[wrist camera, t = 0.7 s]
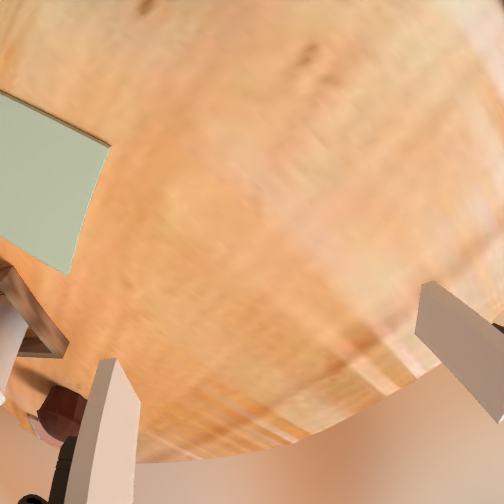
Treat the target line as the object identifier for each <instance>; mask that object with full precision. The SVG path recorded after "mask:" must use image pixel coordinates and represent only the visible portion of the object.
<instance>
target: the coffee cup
mask: <svg viewBox="0 0 504 504" xmlns="http://www.w3.org/2000/svg"><path fill="white" fill-rule="evenodd" d="M28 326H29V325H28V324H27V323H26V322H25V320H24V319H23V318H22V316H21V315H20V314H19V313H18V311H17V310H16V309H15V307H14V306H13V305H12V303H11V302H10V301H9V299H8V298H7V296H6V295H0V405H2V404H3V403H4V401H5V400H6V399H5V397H4V392H5V389H6V385H7V382H8V379H9V376H10V373H11V370H12V367H13V364H14V362H15V359H16V356H17V353H18V351H19V348H20V346H21V343H22V340H23V338H24V336H25V333H26V331H27V328H28Z"/></svg>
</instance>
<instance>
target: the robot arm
mask: <svg viewBox="0 0 504 504" xmlns="http://www.w3.org/2000/svg"><path fill="white" fill-rule="evenodd" d="M415 335H416V336H417V337H418V338H419V339H420V340H421V341H422V342H423V343H424V344H425V345H426V346H427V347H428V348H429V349H430V350H431V351H432V352H433V353H434V354H435V355H436V356H437V357H438V358H439V360H440V361H441V362H442V363H443V364H444V365H445V366H446V367H447V368H448V369H449V370H450V371H451V372H452V373H453V374H454V376H455V377H456V378H457V379H458V380H459V381H460V382H461V383H462V384H463V385H464V386H465V388H466V389H467V390H468V391H469V392H470V393H471V394H472V395H473V396H474V397H475V399H476V400H477V401H478V402H479V403H480V404H481V405H482V407H483V408H484V409H485V410H486V411H487V412H488V413H489V415H490V416H491V417H492V418H493V419H494V420H495V422H496V423H497V424H498V423H499V422H501V421H502V420H503V419H504V327H502V326H500V325H497V324H495V323H493V324H490V323H489V322H488V321H487V320H485V319H484V318H483V317H482V316H480V315H479V314H478V313H477V312H475V311H474V310H473V309H471V308H470V307H469V306H467V305H466V304H465V303H464V302H462V301H461V300H460V299H458V298H457V297H456V296H454V295H453V294H452V293H450V292H449V291H447V290H446V289H445V288H443V287H442V286H441V285H439V284H438V283H437V282H435V281H431V282H428V283H425V284H422V285H421V293H420V301H419V308H418V315H417V322H416V328H415ZM140 408H141V402H140V400H139V398H138V397H137V395H136V393H135V391H134V390H133V388H132V386H131V384H130V382H129V381H128V379H127V377H126V375H125V373H124V371H123V369H122V367H121V365H120V363H119V361H118V359H117V358H110V359H102V360H100V362H99V365H98V368H97V371H96V374H95V378H94V381H93V384H92V387H91V391H90V394H89V397H88V401H87V404H86V408H85V411H84V415H83V419H82V423H81V426H80V430H79V434H78V436H68V437H67V439H66V440H65V442H64V443H63V445H62V446H61V449H60V453H59V457H58V460H59V461H57V465H56V470H55V473H54V477H53V482H52V486H51V491H50V496H49V501H48V502H47V501H46V500H44V499H43V498H41V497H40V496H38V495H33V494H29V495H26V496H24V497H23V498H22V499H20V500H19V502H18V504H133V488H134V472H135V459H136V447H137V436H138V426H139V417H140Z"/></svg>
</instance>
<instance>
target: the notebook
mask: <svg viewBox="0 0 504 504" xmlns="http://www.w3.org/2000/svg"><path fill="white" fill-rule="evenodd" d="M28 420H29V422H30V424H31V426H32V428H33V429H34V431H35V433H36V435H37V437H39V438H40V439H42V440H44V441H46V442H49V443H51V444H53V445H56V446H58V447H60V448H61V446H62V445H63V443H64V442H61V441H58V440H56V439H55V438H53V437H52V436H50V435H49V434H48V433H47V432H46V431H45V430H44V428H43V427H42V425H41V423H40V421H39V418H37V417H35V416H32V415H30V417H29V415H28Z"/></svg>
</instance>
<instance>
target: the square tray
mask: <svg viewBox="0 0 504 504" xmlns="http://www.w3.org/2000/svg"><path fill="white" fill-rule="evenodd" d="M0 290H2V291H3V292H4V294H5V295H6V296H7V298H8V299H9V301H10V302H11V303H12V305H13V306H14V307H15V309H16V310H17V311H18V313H19V314H20V315H21V316H22V318H23V319H24V320H25V322H26V323H27V324H28V325H29V326H30V328H31V329H32V330H33V331H34V333H35V334H36V335H37V336H38V337H39V338H23V340H22V343H21V346H20V348H19V351H18V353H17V356H19V357H36V358H63V357H64V354H65V352H66V349H67V347H68V345H69V341H68V340H67V339H66V338H65V336H64V335H63V334H62V333H61V331H60V330H59V329H58V328H57V327H56V325H55V324H54V323H53V321H52V320H51V319H50V318H49V316H48V315H47V314H46V312H45V311H44V310H43V308H42V307H41V306H40V304H39V303H38V301H37V300H36V299H35V297H34V296H33V294H32V293H31V292H30V290H29V289H28V287H27V286H26V284H25V283H24V281H23V280H22V278H21V277H20V275H19V274H18V272H17V271H16V269H15V268H14V266H11V267H7V268H3V269H0Z"/></svg>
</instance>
